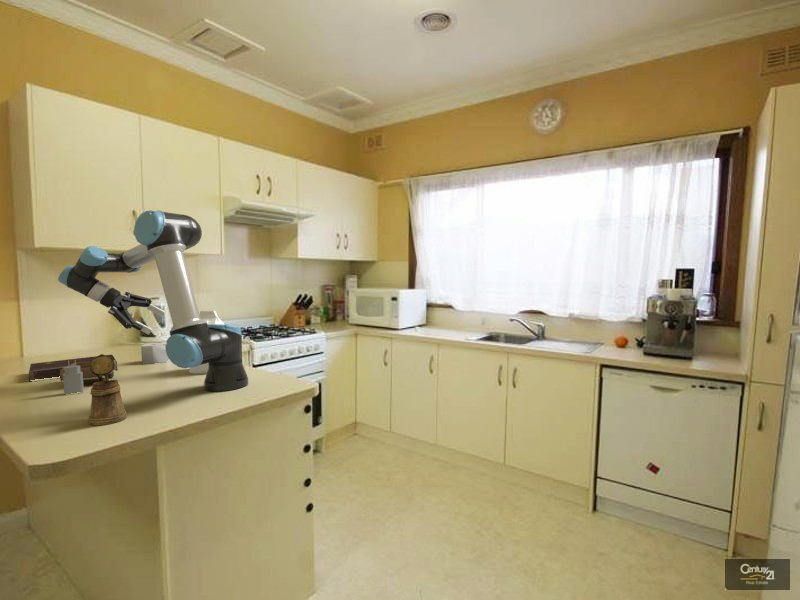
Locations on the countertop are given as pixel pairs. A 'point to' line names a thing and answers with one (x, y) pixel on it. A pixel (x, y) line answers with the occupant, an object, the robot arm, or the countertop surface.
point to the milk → (210, 319)
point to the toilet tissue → (153, 353)
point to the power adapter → (73, 379)
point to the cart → (86, 370)
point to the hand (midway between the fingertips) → (157, 322)
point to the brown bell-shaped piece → (105, 394)
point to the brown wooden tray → (55, 367)
